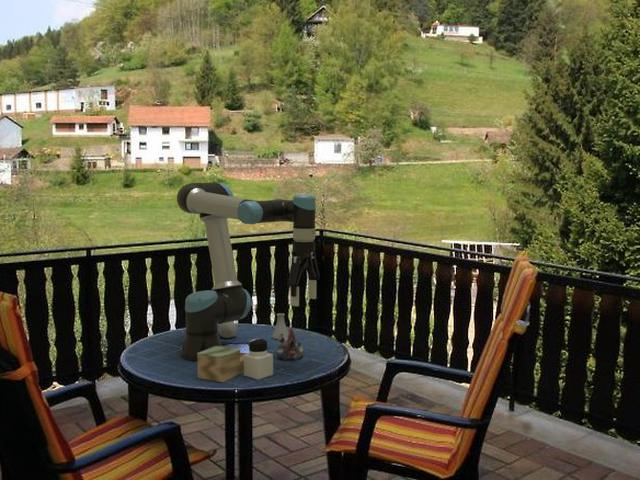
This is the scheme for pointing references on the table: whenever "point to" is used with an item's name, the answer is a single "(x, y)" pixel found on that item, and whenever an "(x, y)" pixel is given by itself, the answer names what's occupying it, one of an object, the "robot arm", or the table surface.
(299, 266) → the robot arm
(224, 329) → the perfume bottle
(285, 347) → the red grey figurine
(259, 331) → the table surface
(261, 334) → the table surface
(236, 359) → the stepped stand
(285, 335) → the flask
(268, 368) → the medicine bottle
